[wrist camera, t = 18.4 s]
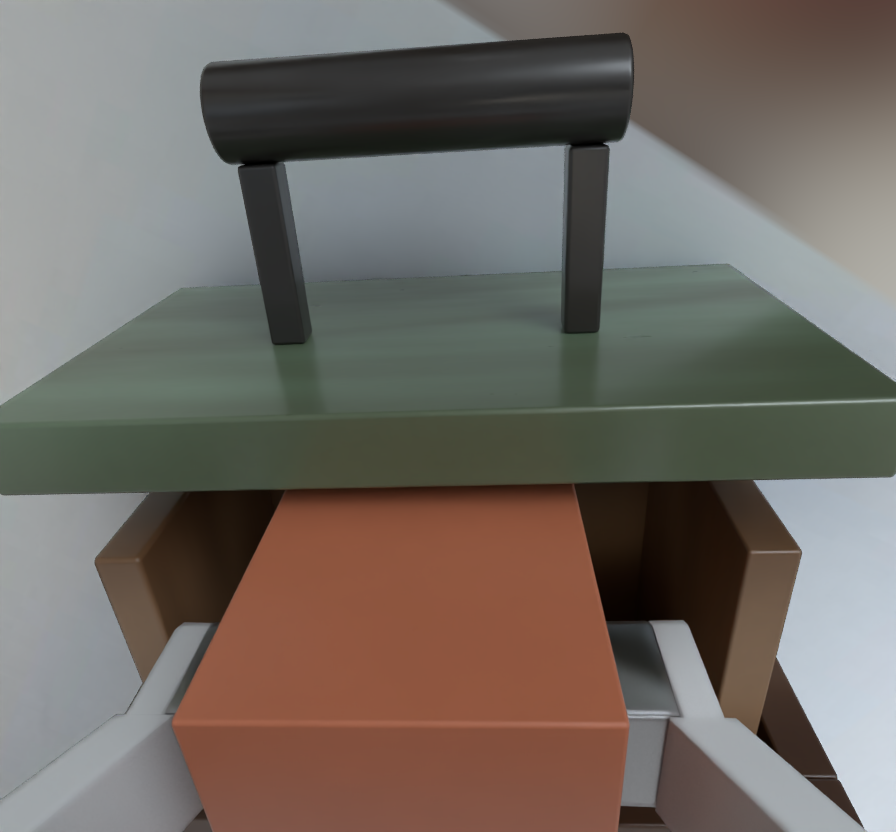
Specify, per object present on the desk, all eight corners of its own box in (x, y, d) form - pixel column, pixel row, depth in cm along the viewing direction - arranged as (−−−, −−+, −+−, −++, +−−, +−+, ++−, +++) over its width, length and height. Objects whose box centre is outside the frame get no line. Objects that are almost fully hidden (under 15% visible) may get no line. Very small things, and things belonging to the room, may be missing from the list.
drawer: (126, 81, 13) (-200, 72, 7) (763, 36, 12) (1055, -20, 6) (287, 706, 21) (209, 952, 15) (664, 708, 21) (741, 970, 14)
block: (290, 475, 10) (167, 724, 6) (571, 470, 10) (631, 726, 6) (329, 671, 12) (256, 951, 8) (563, 670, 12) (603, 963, 8)
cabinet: (235, 519, 19) (64, 815, 11) (701, 511, 18) (867, 830, 10) (316, 826, 26) (245, 1137, 18) (652, 832, 25) (727, 1163, 18)
